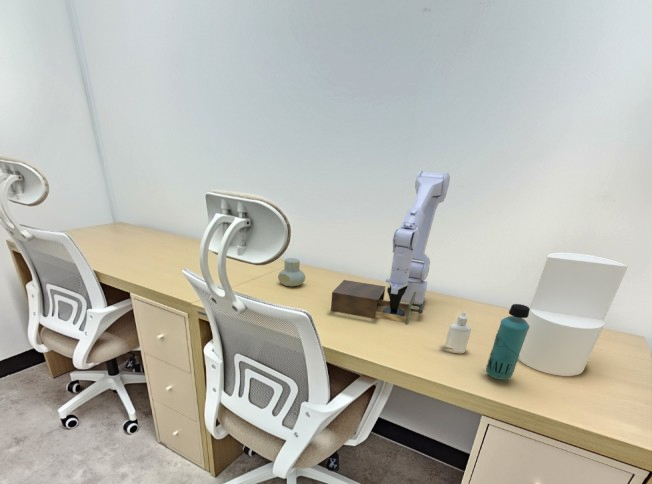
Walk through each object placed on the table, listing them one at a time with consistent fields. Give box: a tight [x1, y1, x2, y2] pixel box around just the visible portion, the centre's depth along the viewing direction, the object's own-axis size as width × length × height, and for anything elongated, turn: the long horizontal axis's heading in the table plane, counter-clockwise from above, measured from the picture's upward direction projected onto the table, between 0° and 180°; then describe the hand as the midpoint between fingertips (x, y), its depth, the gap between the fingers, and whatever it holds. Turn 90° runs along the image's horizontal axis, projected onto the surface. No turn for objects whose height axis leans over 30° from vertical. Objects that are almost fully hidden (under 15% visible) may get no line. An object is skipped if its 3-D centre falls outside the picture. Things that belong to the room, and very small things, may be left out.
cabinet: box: [330, 279, 387, 319], centre depth 135 cm, size 15×14×8 cm
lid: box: [383, 307, 404, 316], centre depth 131 cm, size 7×7×4 cm
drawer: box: [375, 292, 426, 325], centre depth 131 cm, size 18×14×7 cm
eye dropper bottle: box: [444, 311, 472, 354], centre depth 111 cm, size 4×6×12 cm
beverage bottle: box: [485, 303, 530, 380], centre depth 96 cm, size 6×7×20 cm
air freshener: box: [277, 257, 306, 288], centre depth 156 cm, size 11×8×10 cm
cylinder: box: [518, 251, 629, 377], centre depth 104 cm, size 17×17×28 cm
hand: (394, 307), depth 131 cm, fingers closed on lid, 2 cm apart
